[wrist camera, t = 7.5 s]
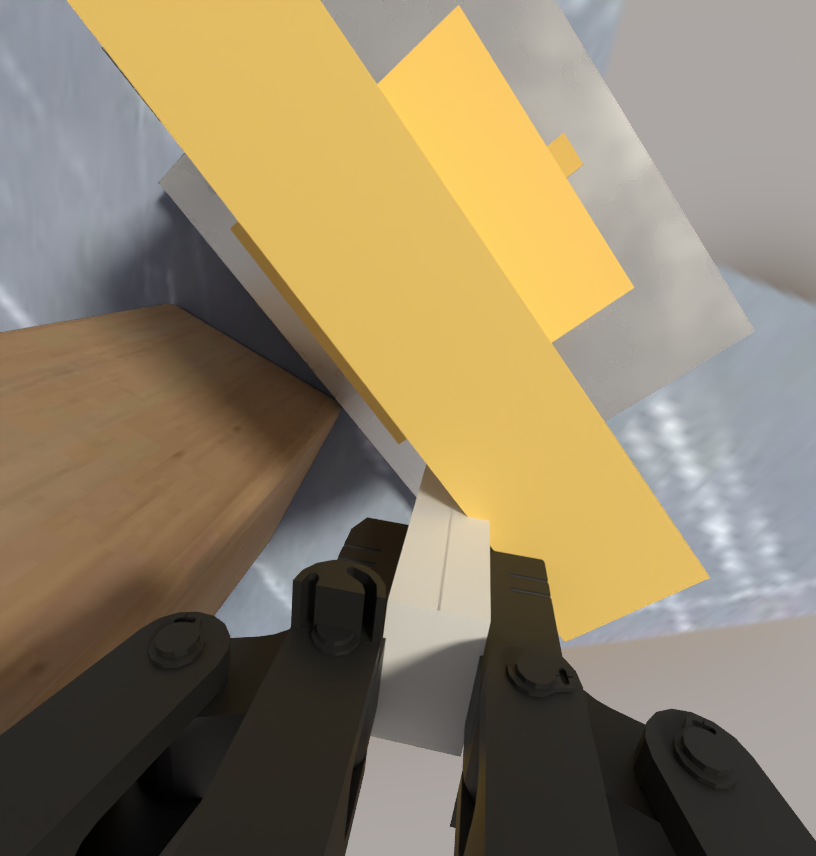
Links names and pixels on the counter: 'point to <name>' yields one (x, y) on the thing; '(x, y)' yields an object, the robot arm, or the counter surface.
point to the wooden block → (134, 482)
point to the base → (593, 183)
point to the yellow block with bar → (421, 265)
